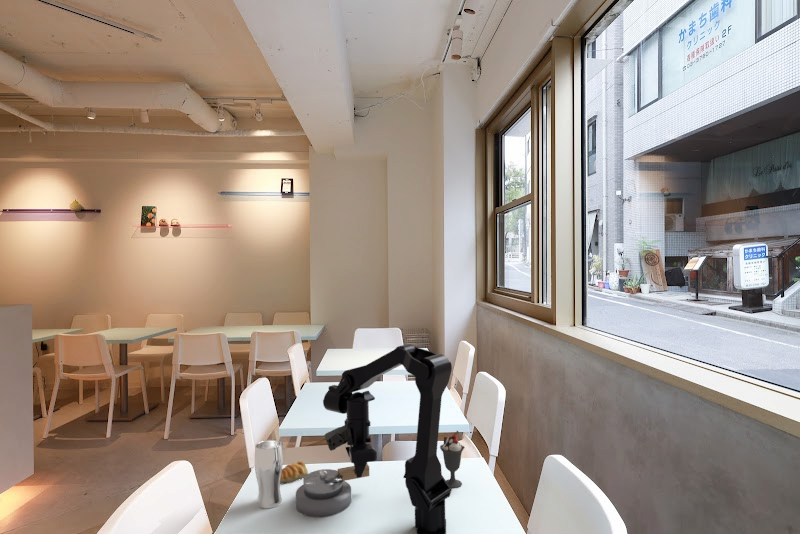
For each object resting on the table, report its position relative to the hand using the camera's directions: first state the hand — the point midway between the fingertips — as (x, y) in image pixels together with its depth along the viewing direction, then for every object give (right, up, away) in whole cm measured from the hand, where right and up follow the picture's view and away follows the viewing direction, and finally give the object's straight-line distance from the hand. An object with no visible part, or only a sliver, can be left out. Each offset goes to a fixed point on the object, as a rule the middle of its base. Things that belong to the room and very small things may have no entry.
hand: (358, 477), depth 121 cm
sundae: (+25, -5, +7) cm, 27 cm away
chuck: (-6, -3, 0) cm, 6 cm away
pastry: (-20, -7, +14) cm, 25 cm away
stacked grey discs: (-9, -6, -1) cm, 11 cm away
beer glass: (-23, -6, -1) cm, 24 cm away
